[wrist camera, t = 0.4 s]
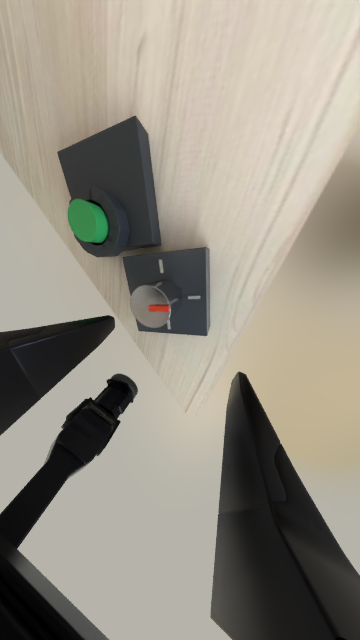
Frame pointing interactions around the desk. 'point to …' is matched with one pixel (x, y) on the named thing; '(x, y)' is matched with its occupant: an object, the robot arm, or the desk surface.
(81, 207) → the button
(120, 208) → the button block
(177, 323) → the dial panel
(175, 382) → the desk surface
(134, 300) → the program dial
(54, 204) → the desk surface
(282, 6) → the desk surface
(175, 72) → the desk surface
